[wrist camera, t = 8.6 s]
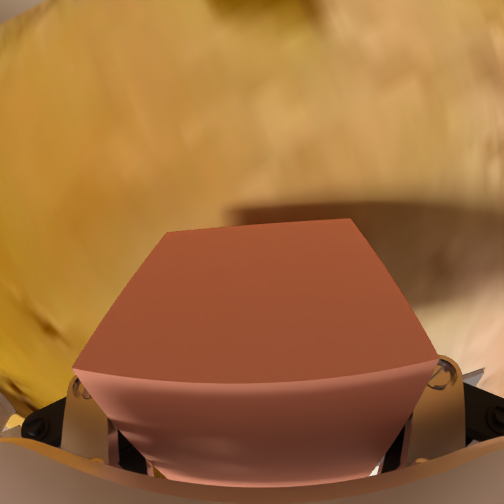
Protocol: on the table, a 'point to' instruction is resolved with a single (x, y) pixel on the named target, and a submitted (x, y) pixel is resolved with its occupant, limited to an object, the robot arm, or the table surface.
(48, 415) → the robot arm
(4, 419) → the grey and black mug
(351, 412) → the block
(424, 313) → the table surface
